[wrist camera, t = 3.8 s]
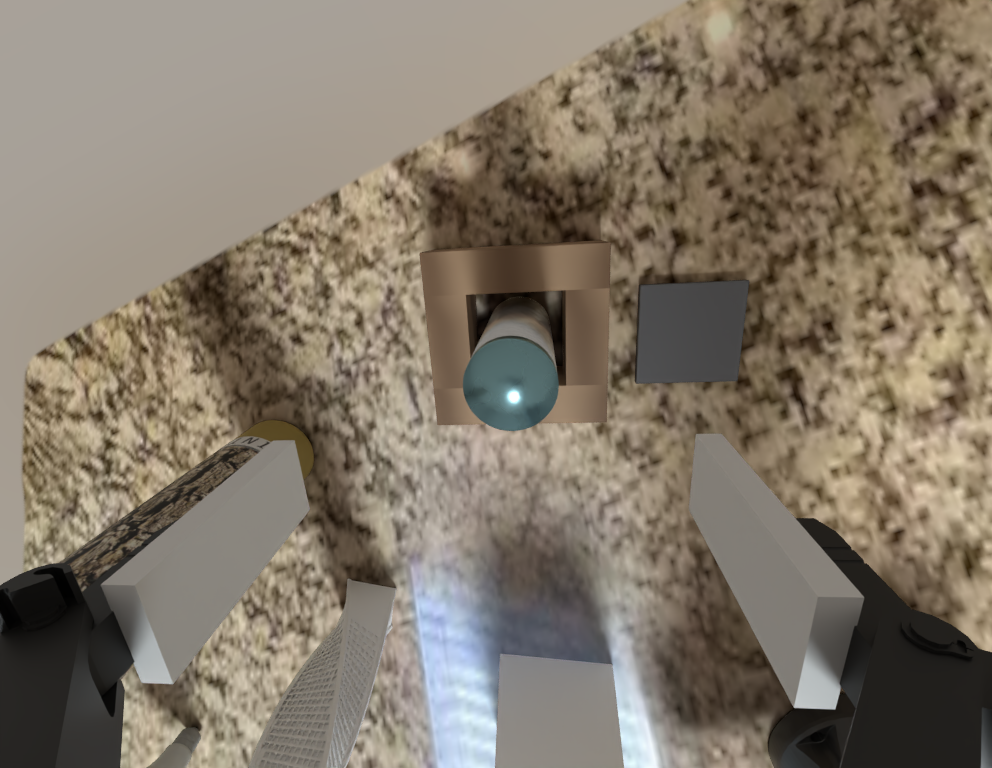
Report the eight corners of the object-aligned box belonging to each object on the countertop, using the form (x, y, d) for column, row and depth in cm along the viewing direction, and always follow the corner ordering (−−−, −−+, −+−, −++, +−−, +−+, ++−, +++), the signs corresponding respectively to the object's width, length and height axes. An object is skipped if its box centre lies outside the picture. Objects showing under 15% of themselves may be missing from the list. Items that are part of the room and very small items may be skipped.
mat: (745, 279, 35) (749, 280, 35) (734, 378, 38) (737, 381, 37) (639, 284, 36) (640, 285, 36) (635, 381, 39) (636, 383, 38)
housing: (601, 240, 35) (610, 242, 31) (598, 398, 40) (606, 422, 35) (434, 249, 37) (419, 253, 32) (449, 401, 41) (437, 425, 36)
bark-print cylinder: (331, 464, 44) (93, 740, 20) (276, 491, 46) (-3, 776, 22) (289, 405, 42) (-22, 630, 19) (234, 434, 44) (-118, 678, 20)
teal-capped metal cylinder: (549, 295, 37) (558, 338, 23) (550, 355, 39) (559, 429, 25) (487, 297, 38) (459, 341, 23) (491, 357, 39) (466, 431, 25)
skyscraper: (337, 565, 48) (93, 981, 22) (408, 578, 48) (247, 1014, 21) (335, 623, 51) (115, 1057, 24) (402, 635, 50) (252, 1087, 24)
